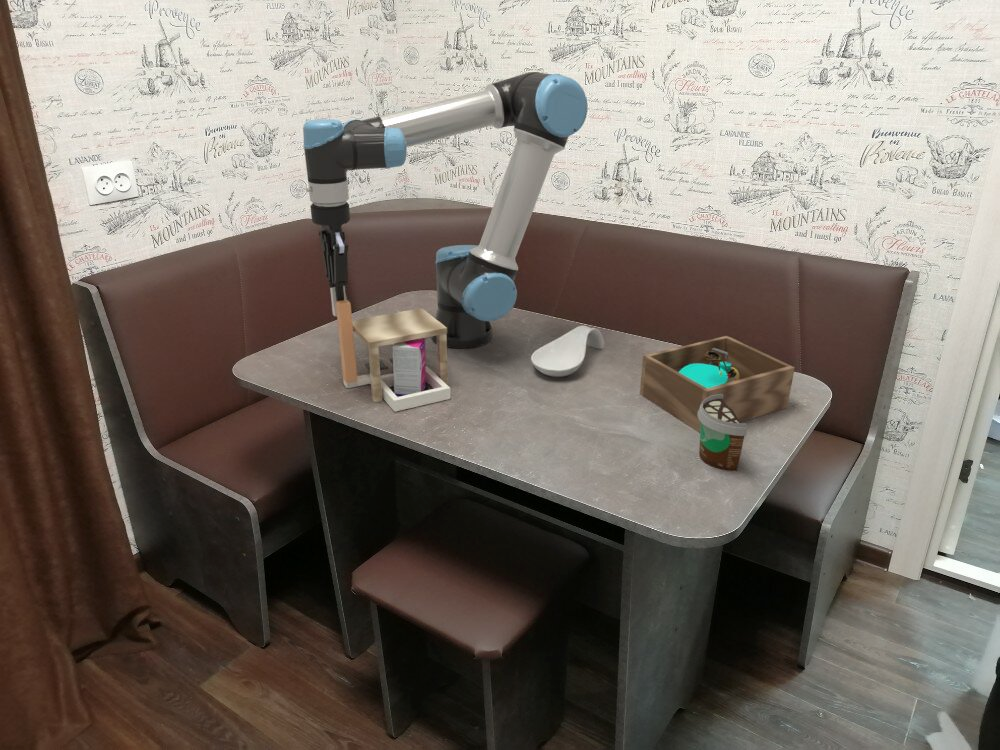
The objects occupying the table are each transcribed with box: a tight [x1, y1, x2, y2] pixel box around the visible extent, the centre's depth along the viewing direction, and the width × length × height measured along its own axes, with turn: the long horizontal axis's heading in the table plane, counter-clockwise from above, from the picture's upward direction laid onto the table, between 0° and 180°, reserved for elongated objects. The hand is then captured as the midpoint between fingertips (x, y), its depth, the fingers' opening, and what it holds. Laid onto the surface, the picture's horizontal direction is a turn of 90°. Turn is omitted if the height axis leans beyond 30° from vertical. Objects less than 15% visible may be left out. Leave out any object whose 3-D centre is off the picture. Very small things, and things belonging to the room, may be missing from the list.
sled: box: [336, 299, 451, 413], centre depth 155 cm, size 18×17×19 cm
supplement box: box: [391, 337, 427, 397], centre depth 156 cm, size 6×6×12 cm
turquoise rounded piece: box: [679, 348, 740, 388], centre depth 151 cm, size 14×18×15 cm
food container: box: [697, 394, 748, 472], centre depth 132 cm, size 12×6×10 cm, turn 5°
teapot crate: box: [639, 335, 796, 434], centre depth 153 cm, size 23×19×9 cm
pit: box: [364, 359, 389, 371], centre depth 170 cm, size 4×4×1 cm
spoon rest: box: [530, 325, 605, 378], centre depth 171 cm, size 24×12×7 cm, turn 145°
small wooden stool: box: [352, 307, 449, 403], centre depth 160 cm, size 17×14×14 cm
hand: (340, 314), depth 157 cm, fingers closed
